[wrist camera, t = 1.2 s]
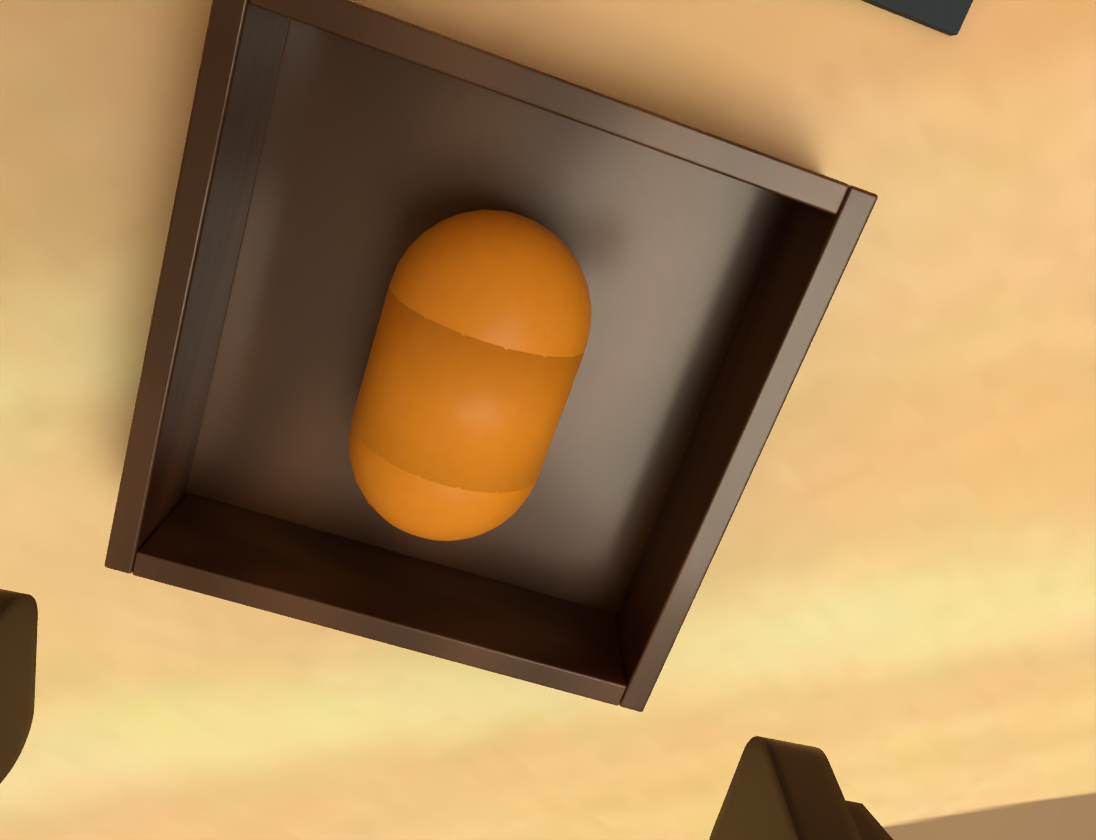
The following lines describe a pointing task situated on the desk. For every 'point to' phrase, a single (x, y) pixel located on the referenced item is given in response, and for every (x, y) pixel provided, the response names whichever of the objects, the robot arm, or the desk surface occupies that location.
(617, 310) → the wooden tray
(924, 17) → the desk pad
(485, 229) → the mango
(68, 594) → the desk surface
